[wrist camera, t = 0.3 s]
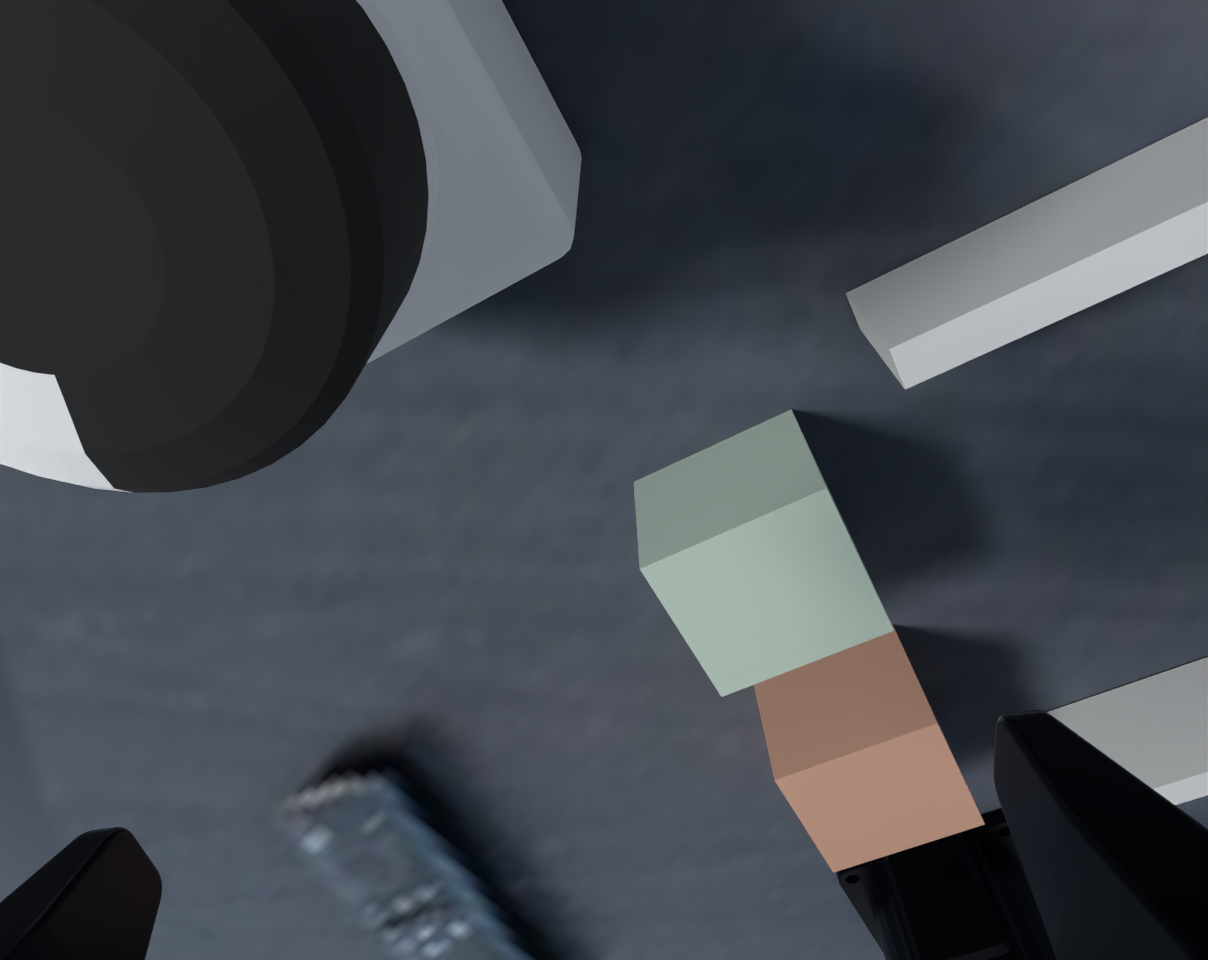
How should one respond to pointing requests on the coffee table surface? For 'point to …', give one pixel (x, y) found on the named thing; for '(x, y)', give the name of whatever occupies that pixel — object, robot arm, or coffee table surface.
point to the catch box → (1039, 298)
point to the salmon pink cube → (863, 754)
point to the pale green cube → (754, 557)
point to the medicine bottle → (250, 216)
